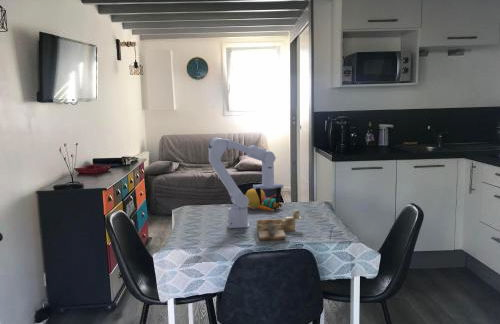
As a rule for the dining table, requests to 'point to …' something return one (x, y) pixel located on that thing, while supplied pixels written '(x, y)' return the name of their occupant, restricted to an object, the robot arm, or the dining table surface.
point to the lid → (271, 234)
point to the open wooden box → (276, 224)
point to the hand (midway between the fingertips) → (268, 203)
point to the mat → (260, 241)
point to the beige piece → (294, 215)
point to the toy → (266, 202)
